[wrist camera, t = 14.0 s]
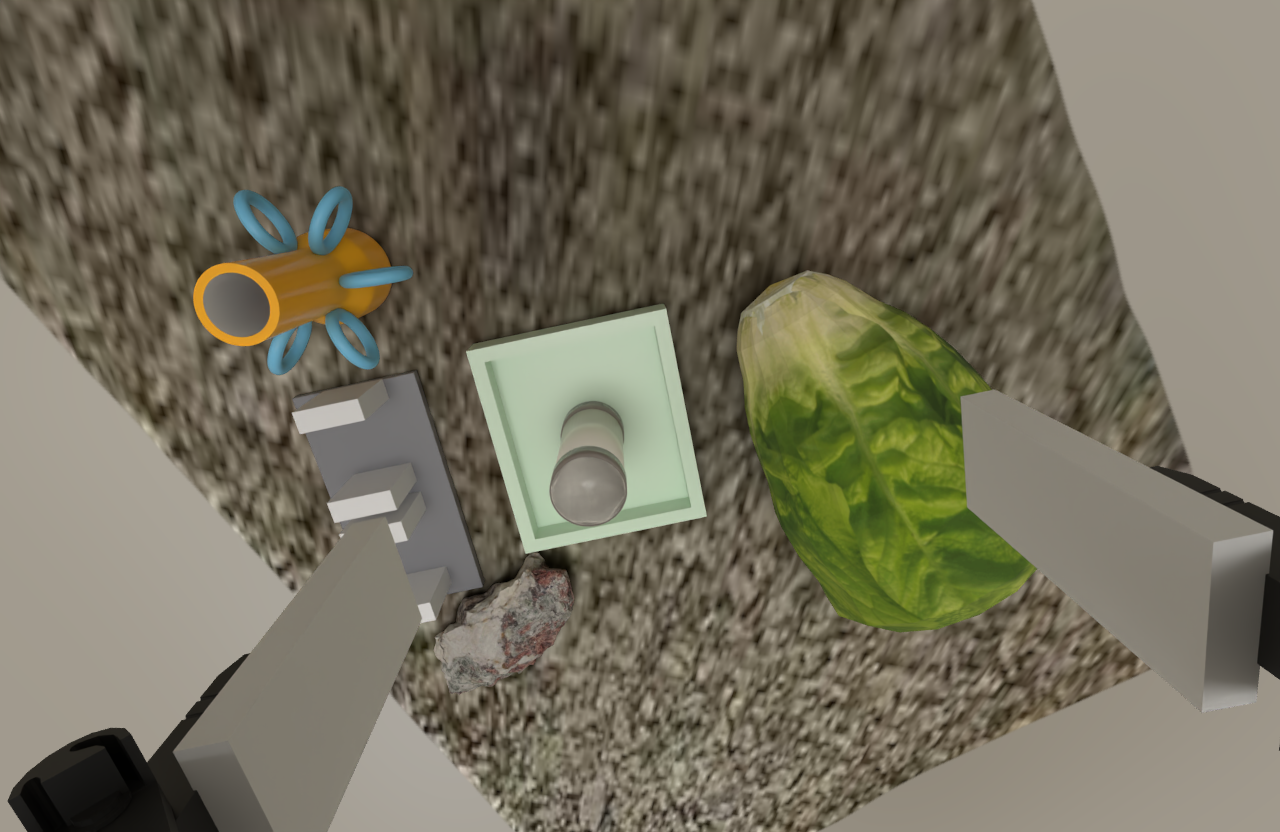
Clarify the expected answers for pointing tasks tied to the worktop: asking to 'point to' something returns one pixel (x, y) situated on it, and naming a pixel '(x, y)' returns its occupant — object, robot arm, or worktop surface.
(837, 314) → the lettuce
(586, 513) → the cylinder
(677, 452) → the tray
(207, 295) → the orange and blue piece
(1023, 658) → the worktop surface
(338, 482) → the panel
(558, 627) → the mineral rock
